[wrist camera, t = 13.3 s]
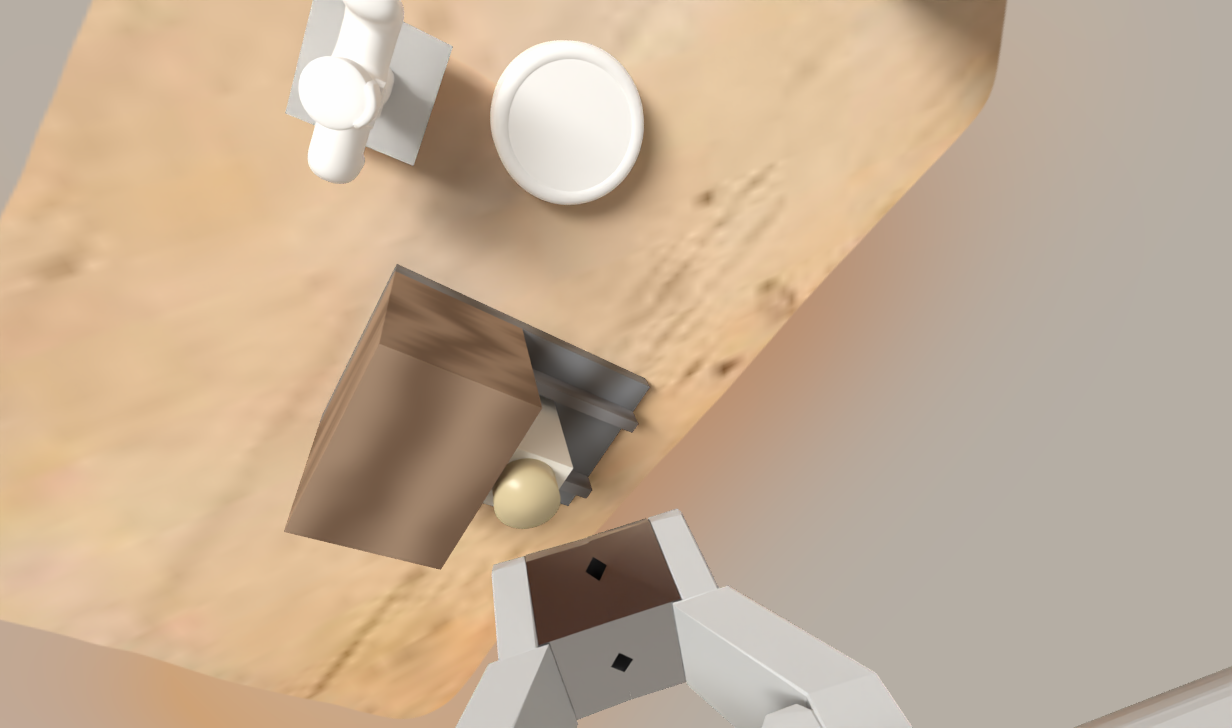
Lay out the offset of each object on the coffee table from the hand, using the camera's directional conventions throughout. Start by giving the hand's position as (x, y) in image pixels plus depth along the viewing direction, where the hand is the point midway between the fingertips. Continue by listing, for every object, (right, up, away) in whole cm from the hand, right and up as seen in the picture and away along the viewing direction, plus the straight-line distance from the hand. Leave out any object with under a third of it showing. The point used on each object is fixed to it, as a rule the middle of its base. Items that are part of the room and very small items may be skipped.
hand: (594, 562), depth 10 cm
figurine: (-15, +21, +28) cm, 38 cm away
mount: (-11, +1, +40) cm, 42 cm away
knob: (-8, -1, +40) cm, 41 cm away
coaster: (-3, +20, +32) cm, 38 cm away
